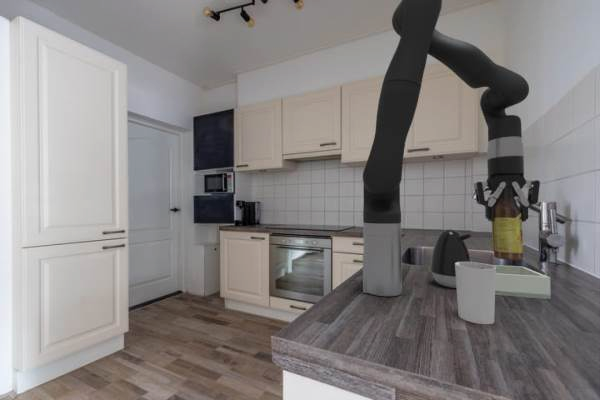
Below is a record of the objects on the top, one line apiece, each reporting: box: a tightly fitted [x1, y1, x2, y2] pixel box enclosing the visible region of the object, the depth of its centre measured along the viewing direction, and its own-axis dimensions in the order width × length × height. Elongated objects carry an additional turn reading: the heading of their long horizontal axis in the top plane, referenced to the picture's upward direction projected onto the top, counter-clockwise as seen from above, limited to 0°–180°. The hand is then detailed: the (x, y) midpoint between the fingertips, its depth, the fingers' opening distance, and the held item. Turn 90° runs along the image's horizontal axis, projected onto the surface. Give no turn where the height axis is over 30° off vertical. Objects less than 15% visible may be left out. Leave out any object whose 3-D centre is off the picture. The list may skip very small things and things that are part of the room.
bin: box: [492, 264, 552, 300], centre depth 69 cm, size 12×12×5 cm
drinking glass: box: [455, 261, 496, 325], centre depth 52 cm, size 7×7×10 cm
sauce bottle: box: [491, 181, 524, 261], centre depth 70 cm, size 7×6×20 cm
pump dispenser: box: [429, 228, 473, 289], centre depth 73 cm, size 10×10×15 cm
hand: (506, 221), depth 70 cm, fingers closed on sauce bottle, 6 cm apart
